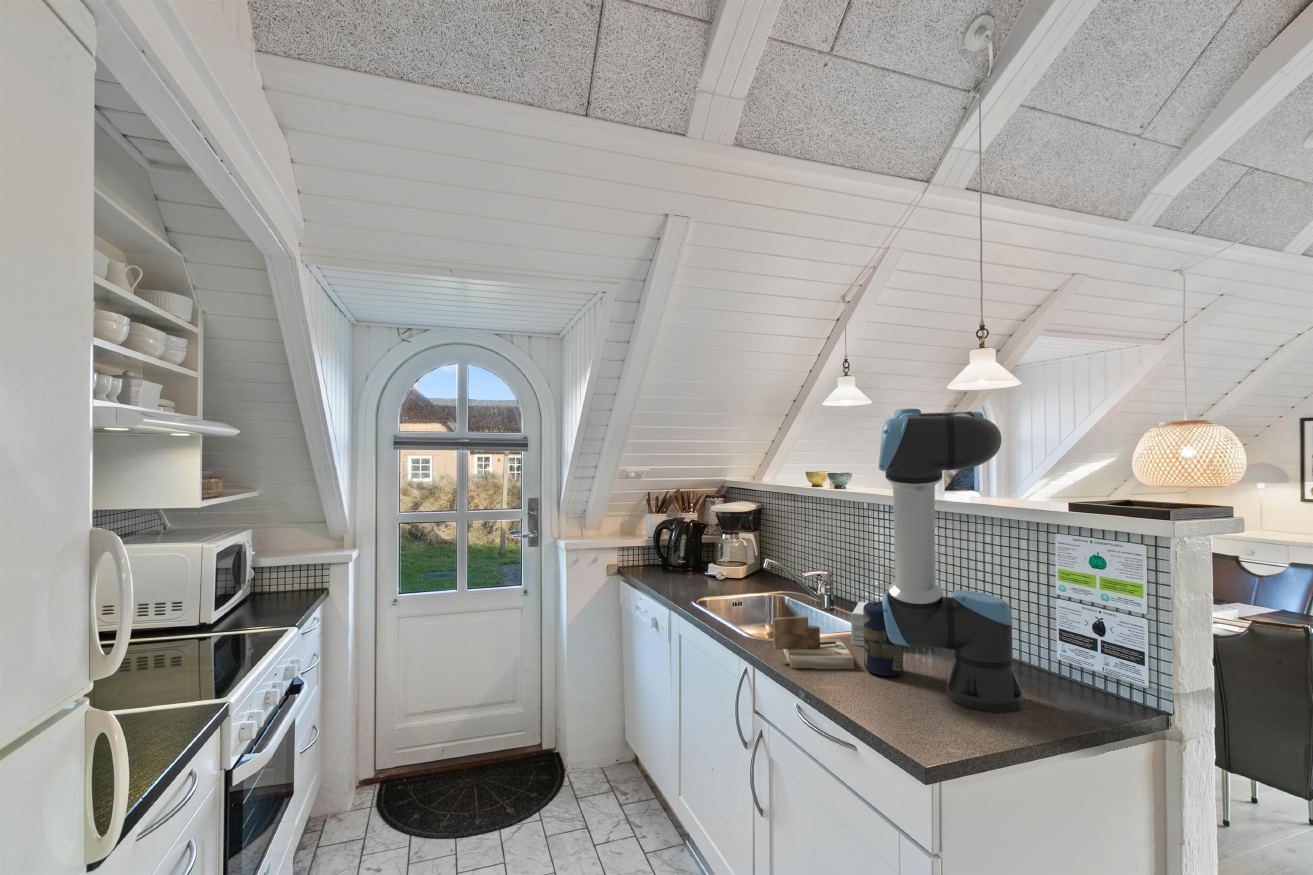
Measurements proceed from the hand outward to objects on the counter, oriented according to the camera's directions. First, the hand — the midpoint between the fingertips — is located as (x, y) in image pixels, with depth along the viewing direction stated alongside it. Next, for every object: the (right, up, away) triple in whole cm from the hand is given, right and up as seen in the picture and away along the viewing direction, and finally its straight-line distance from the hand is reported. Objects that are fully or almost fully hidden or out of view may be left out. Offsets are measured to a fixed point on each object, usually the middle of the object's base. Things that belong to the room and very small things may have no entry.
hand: (910, 542), depth 180 cm
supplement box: (-8, -30, +5) cm, 31 cm away
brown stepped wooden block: (-34, -26, -12) cm, 44 cm away
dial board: (-30, -29, -12) cm, 44 cm away
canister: (-16, -29, -23) cm, 40 cm away
